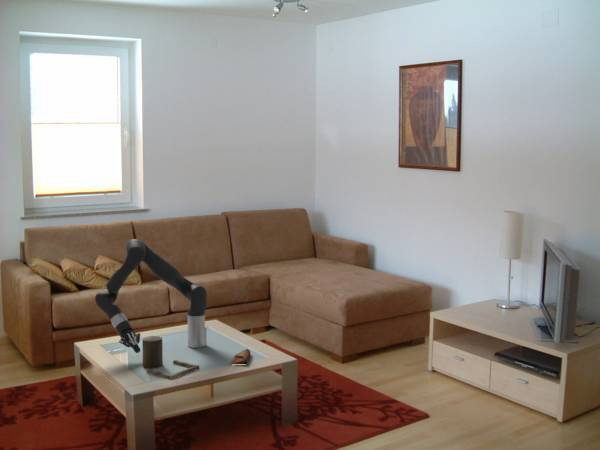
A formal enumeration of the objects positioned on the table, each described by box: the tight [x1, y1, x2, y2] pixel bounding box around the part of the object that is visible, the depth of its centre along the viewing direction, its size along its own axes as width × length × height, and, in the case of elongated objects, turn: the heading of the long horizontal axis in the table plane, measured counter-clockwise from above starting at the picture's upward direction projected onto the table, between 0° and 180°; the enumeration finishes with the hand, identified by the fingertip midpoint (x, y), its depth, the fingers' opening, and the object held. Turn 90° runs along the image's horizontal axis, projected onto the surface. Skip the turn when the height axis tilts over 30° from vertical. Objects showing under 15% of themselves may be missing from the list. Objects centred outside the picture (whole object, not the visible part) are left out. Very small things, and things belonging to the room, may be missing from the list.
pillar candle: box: [142, 335, 164, 369], centre depth 350 cm, size 10×10×15 cm
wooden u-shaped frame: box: [146, 359, 200, 380], centre depth 343 cm, size 16×19×2 cm
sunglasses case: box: [230, 348, 251, 365], centre depth 360 cm, size 18×7×7 cm
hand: (138, 352), depth 356 cm, fingers closed
